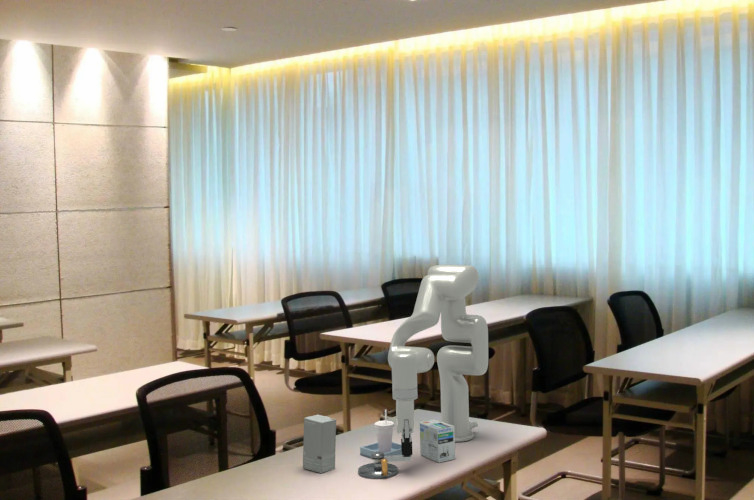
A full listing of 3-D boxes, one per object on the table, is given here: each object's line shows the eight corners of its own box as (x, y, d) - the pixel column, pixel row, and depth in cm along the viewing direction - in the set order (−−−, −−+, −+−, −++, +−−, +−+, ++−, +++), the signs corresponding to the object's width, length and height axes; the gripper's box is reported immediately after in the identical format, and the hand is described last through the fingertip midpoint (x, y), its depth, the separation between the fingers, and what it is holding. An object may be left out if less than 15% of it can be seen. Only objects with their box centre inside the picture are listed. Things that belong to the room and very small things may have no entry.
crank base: (379, 463, 251) (379, 445, 251) (406, 472, 242) (406, 454, 241) (350, 472, 243) (349, 454, 243) (376, 482, 234) (376, 463, 234)
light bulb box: (456, 459, 253) (455, 425, 252) (438, 463, 249) (437, 429, 249) (436, 451, 262) (435, 418, 262) (419, 454, 259) (418, 421, 258)
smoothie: (393, 456, 256) (392, 412, 255) (373, 455, 257) (372, 412, 256) (396, 450, 262) (395, 407, 261) (377, 449, 263) (376, 407, 263)
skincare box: (302, 468, 248) (300, 418, 247) (318, 463, 253) (317, 413, 252) (321, 474, 242) (320, 422, 241) (338, 468, 248) (336, 417, 247)
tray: (386, 447, 268) (385, 439, 267) (409, 454, 259) (409, 446, 259) (360, 454, 260) (360, 447, 260) (383, 462, 252) (383, 454, 252)
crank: (371, 463, 240) (371, 441, 240) (370, 459, 244) (369, 438, 244) (412, 461, 241) (411, 439, 241) (409, 457, 245) (409, 435, 245)
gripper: (392, 387, 250) (393, 445, 251) (393, 400, 234) (395, 462, 235) (416, 386, 250) (418, 444, 251) (418, 399, 234) (420, 461, 235)
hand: (406, 452), depth 243 cm, fingers closed on crank, 2 cm apart
